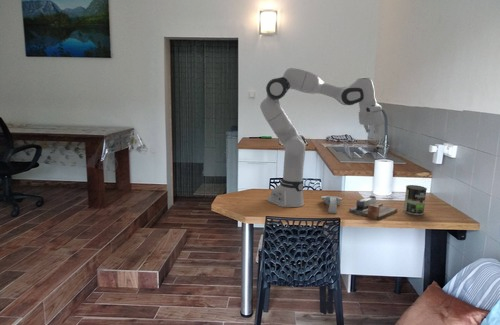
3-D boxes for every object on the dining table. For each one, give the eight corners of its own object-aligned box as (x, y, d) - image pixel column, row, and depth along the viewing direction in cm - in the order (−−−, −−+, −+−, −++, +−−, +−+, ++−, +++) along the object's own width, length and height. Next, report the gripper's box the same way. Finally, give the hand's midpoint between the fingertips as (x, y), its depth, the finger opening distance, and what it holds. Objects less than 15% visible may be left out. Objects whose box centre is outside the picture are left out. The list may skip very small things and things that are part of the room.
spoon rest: (320, 200, 224) (321, 188, 222) (340, 202, 222) (341, 190, 221) (321, 213, 201) (322, 200, 199) (344, 214, 199) (345, 201, 198)
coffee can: (427, 214, 203) (431, 189, 200) (411, 215, 200) (414, 190, 197) (414, 208, 213) (417, 184, 210) (399, 209, 210) (402, 185, 207)
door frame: (348, 211, 203) (349, 200, 202) (368, 204, 218) (369, 193, 217) (378, 220, 191) (379, 207, 190) (397, 211, 206) (398, 200, 205)
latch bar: (361, 208, 200) (362, 201, 199) (354, 206, 203) (355, 200, 202) (376, 202, 211) (376, 196, 210) (369, 201, 214) (370, 195, 213)
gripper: (354, 109, 211) (358, 133, 213) (372, 108, 191) (376, 135, 193) (364, 106, 212) (368, 130, 214) (383, 106, 192) (387, 132, 194)
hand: (372, 132), depth 204 cm, fingers open, 8 cm apart
